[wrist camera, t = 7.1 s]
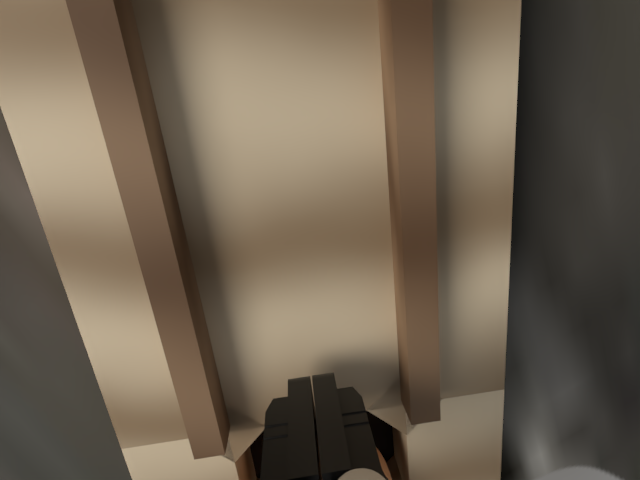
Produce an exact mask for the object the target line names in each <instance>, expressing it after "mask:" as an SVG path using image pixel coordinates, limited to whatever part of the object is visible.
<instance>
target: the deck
mask: <svg viewBox="0 0 640 480" xmlns="http://www.w3.org/2000/svg"><path fill="white" fill-rule="evenodd" d="M520 22H521V0H0V106H1V109H2V112H3V115H4V118H5V121H6V123H7V126H8V129H9V132H10V135H11V138H12V140H13V143H14V146H15V149H16V152H17V155H18V157H19V160H20V163H21V166H22V169H23V172H24V174H25V177H26V180H27V183H28V186H29V189H30V191H31V194H32V197H33V200H34V203H35V205H36V208H37V211H38V214H39V217H40V220H41V222H42V225H43V228H44V231H45V234H46V237H47V239H48V242H49V245H50V248H51V251H52V254H53V256H54V259H55V262H56V265H57V268H58V271H59V273H60V276H61V279H62V282H63V285H64V288H65V290H66V293H67V296H68V299H69V302H70V305H71V307H72V310H73V313H74V316H75V319H76V322H77V324H78V327H79V330H80V333H81V336H82V339H83V341H84V344H85V347H86V350H87V353H88V356H89V358H90V361H91V364H92V367H93V370H94V373H95V375H96V378H97V381H98V384H99V387H100V390H101V392H102V395H103V398H104V401H105V404H106V407H107V409H108V412H109V415H110V418H111V421H112V424H113V426H114V429H115V432H116V435H117V438H118V441H119V443H120V446H121V449H122V452H123V455H124V457H125V460H126V463H127V466H128V469H129V472H130V474H131V477H132V480H260V478H258V477H257V476H256V472H255V467H254V463H253V458H252V454H251V449H250V445H251V444H252V443H253V442H254V440H255V439H256V438H257V437H258V436H259V435H260V434H261V433H262V431H263V430H264V429H265V427H264V424H265V412H266V410H267V408H268V407H269V405H270V403H271V401H272V400H273V399H274V398H281V397H287V396H288V379H293V378H300V377H306V376H310V378H311V385H312V392H313V382H312V375H319V374H325V373H332V372H334V376H335V381H336V387H337V389H339V388H345V387H352V386H353V388H354V389H355V390H356V391H357V392H358V393H359V394H360V395H361V396H362V398H363V402H364V406H365V409H366V411H368V412H370V413H372V414H373V415H375V416H377V417H378V418H380V419H381V420H383V421H385V422H386V423H388V424H389V425H391V426H392V431H393V446H394V455H393V456H392V457H391V458H390V459H389V460H388V461H387V462H386V464H387V466H388V469H389V471H390V474H391V478H392V480H500V478H501V455H502V432H503V409H504V387H505V364H506V341H507V318H508V296H509V273H510V250H511V227H512V204H513V182H514V159H515V136H516V113H517V90H518V68H519V45H520ZM313 399H314V393H313ZM314 406H315V403H314Z"/></svg>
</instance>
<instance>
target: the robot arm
mask: <svg viewBox="0 0 640 480" xmlns="http://www.w3.org/2000/svg"><path fill="white" fill-rule="evenodd" d="M312 382H313V392H312V385H311V378H310V376H306V377H300V378H293V379H288V396H287V397H281V398H274V399H273V400H272V401H271V403H270V405H269V407H268V408H267V410H266V412H265V424H264V427H265V429H264V437H263V438H264V441H263V450H262V463H261V475H260V480H388V478H387V477H386V476H385V474H384V472H383V470H382V467H381V464H380V460H379V457H378V453H377V449H376V446H375V442H374V439H373V435H372V431H371V428H370V424H369V420H368V417H367V413H366V409H365V406H364V402H363V398H362V396H361V395H360V394H359V393H358V392H357V391H356V390H355V389H354V388H353V386H352V387H345V388H339V389H337V387H336V381H335V376H334V372H332V373H325V374H319V375H312ZM313 393H314V399H313ZM314 403H315V406H314Z"/></svg>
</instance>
